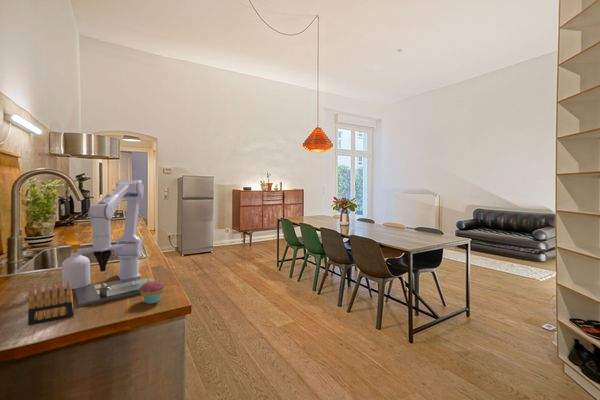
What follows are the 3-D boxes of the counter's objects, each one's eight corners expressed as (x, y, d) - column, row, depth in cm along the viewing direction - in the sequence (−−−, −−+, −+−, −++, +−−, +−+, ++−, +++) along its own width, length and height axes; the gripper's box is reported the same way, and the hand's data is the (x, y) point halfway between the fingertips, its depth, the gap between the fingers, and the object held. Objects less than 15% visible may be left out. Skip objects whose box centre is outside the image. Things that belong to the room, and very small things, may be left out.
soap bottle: (75, 290, 112) (73, 229, 111) (56, 288, 114) (54, 228, 113) (95, 283, 121) (94, 225, 120) (78, 281, 123) (76, 224, 121)
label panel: (74, 291, 112) (74, 287, 112) (137, 279, 126) (137, 276, 126) (78, 307, 98) (78, 302, 98) (148, 291, 113) (148, 288, 113)
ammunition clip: (73, 314, 93) (72, 278, 92) (73, 317, 91) (72, 280, 91) (29, 323, 87) (27, 285, 86) (27, 326, 85) (26, 287, 85)
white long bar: (150, 283, 117) (150, 276, 117) (153, 286, 115) (153, 279, 114) (98, 295, 105) (98, 287, 105) (100, 298, 102) (100, 290, 102)
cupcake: (136, 306, 100) (135, 273, 99) (142, 297, 108) (142, 266, 107) (163, 304, 102) (162, 271, 101) (167, 295, 110) (167, 264, 109)
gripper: (78, 239, 100) (79, 277, 101) (126, 235, 110) (126, 269, 110) (76, 236, 105) (78, 272, 106) (122, 232, 115) (123, 265, 116)
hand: (102, 270), depth 109 cm, fingers closed
